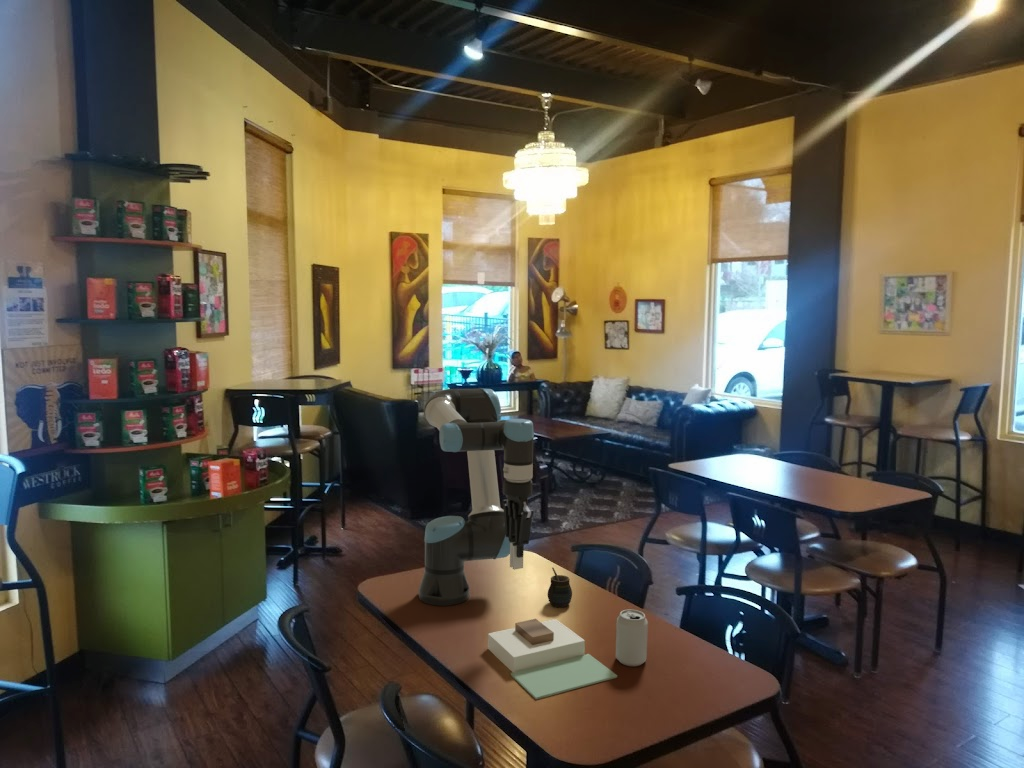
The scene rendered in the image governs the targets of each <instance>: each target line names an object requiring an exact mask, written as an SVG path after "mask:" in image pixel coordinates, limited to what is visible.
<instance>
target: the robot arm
mask: <svg viewBox="0 0 1024 768" xmlns="http://www.w3.org/2000/svg"><path fill="white" fill-rule="evenodd" d="M423 415H424V418H425V420H426V422H428V424H429V425H430V426H432V427H434V428H437V430H438V431H439V432H438V433H439V434H438V435H439V445H440V449H441V450H442V451H443V452H452V453H458V452H460V453H461V452H466V454H467V462H468V463H467V464H468V474H469V475H468V477H469V487H470V496H471V498H470V499H471V505H472V506H471V507H472V510H471V512H470V513H469V514H468V515H467V517H468V520H467V521H465V518H463V517H462V516H459V515H446V516H445V515H444V516H441V517H437V518H434V519H432V520H430V521H429V522H428V523H427V524H426V526H425V530H424V531H425V532H424V538H423V539H424V572H423V575H422V578H421V581H420V585H419V588H418V599H419V600H420V601H421V602H423V603H425V604H428V605H430V606H431V605H432V606H445V607H446V606H454V605H458V604H462V603H464V602H466V601H467V600H468V599H469V598H470V586H469V583H468V580H467V576H466V572H465V566H464V565H465V562H468V561H470V562H472V561H483V560H497V559H502V558H503V559H504V558H507V557H508V556H509V568H512V569H513V570H519V569H523V568H524V552H525V551H524V549H525V548H524V545H529V543H530V535H531V527H532V520H533V519H532V518H533V517H534V514H535V513H534V510H533V509H530V508H529V500H528V497H529V496H531V495H532V494H533V480H532V479H533V477H534V474H533V473H534V472H533V471H534V469H533V468H534V465H533V464H534V437H535V432H534V423H533V421H532V420H530V419H526V418H511V419H502V409H501V403H500V400H499V396H498V394H497V393H496V392H495V390H493V389H491V388H482V387H478V388H447V389H442V390H440V391H437V392H435V393H433V394H432V395H431V396H430V397H428V399H427V400H426V401H425V404H424V407H423ZM500 450H501V451H503V468H502V471H503V478H504V479H503V486H502V487H503V488H502V491H503V494H504V495H505V496H507V497H506V498H505V499H502V501H500V492H499V491H500V490H499V482H498V481H499V480H498V473H497V464H496V456H495V455H496V453H495V451H500ZM501 503H502V507H503V508H502V507H501Z"/></svg>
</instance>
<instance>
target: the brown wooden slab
mask: <svg viewBox="0 0 1024 768" xmlns="http://www.w3.org/2000/svg"><path fill="white" fill-rule="evenodd" d="M541 622H542V621H539V620H538V619H537V618H533V619H528V620H524V621H519V622H515V626H514V628H515V631H516V632H518V633H519V634H520V635H521V636H522V637H523V638H525V639H526V640H527V641H528V642H529V643H531V644H532V645H536V644H540V643H544V642H549V641H553V640H554V632H552V631H551V630H550V629H548V628H547V627H546V626H545V625H543V624H542V623H541Z"/></svg>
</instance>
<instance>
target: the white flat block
mask: <svg viewBox="0 0 1024 768" xmlns="http://www.w3.org/2000/svg"><path fill="white" fill-rule="evenodd" d="M540 622H541V623H542V624H543V625H545V626H546V627H547V628H548V629H550V630H551V631H552V632H554V640H553V641H549V642H544V643H540V644H536V645H532V644H531V643H529V642H528V641H527V640H526V639H525V638H523V637H522V636H521V635H520V634H519V633H518V632H516V631H515V627H511V628H508V629H503V630H497V631H494V632H489V633H488V634H487V649H488V651H490V652H491V654H493V655H494V656H495V657H496V658H497V659H498V660H499V661H500V663H502V664H503V665H504V666H505V667H506V668H507V669H508V670H509V671H511V673H513V672H517V671H521V670H525V669H529V668H533V667H537V666H541V665H545V664H549V663H553V662H557V661H561V660H565V659H569V658H573V657H577V656H581V655H585V652H586V648H585V647H586V640H585V639H584V638H582V637H581V636H579V634H577V633H575V631H573V630H571V628H569V627H567V626H566V625H565V624H563V623H562V622H560V621H559V620H558V619H556V618H555V619H554V618H553V619H549V620H545V621H540Z"/></svg>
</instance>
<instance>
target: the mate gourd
mask: <svg viewBox="0 0 1024 768" xmlns="http://www.w3.org/2000/svg"><path fill="white" fill-rule="evenodd" d="M551 569H552V571H553V574H554V575H553V576H551V577H550V586H549V588H548V589H547V599H548V602H549V603H550V605H551V606H552V607H555V608H565V607H567V606H568V605H570V603H571V602H572V601H571V600H572V598H573V589H572V587H571V584H570V581H571V580H570V579H571V578H570V577H569V576H566V575H563V574H557V572H556V570H555V568H554V567H551Z"/></svg>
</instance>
